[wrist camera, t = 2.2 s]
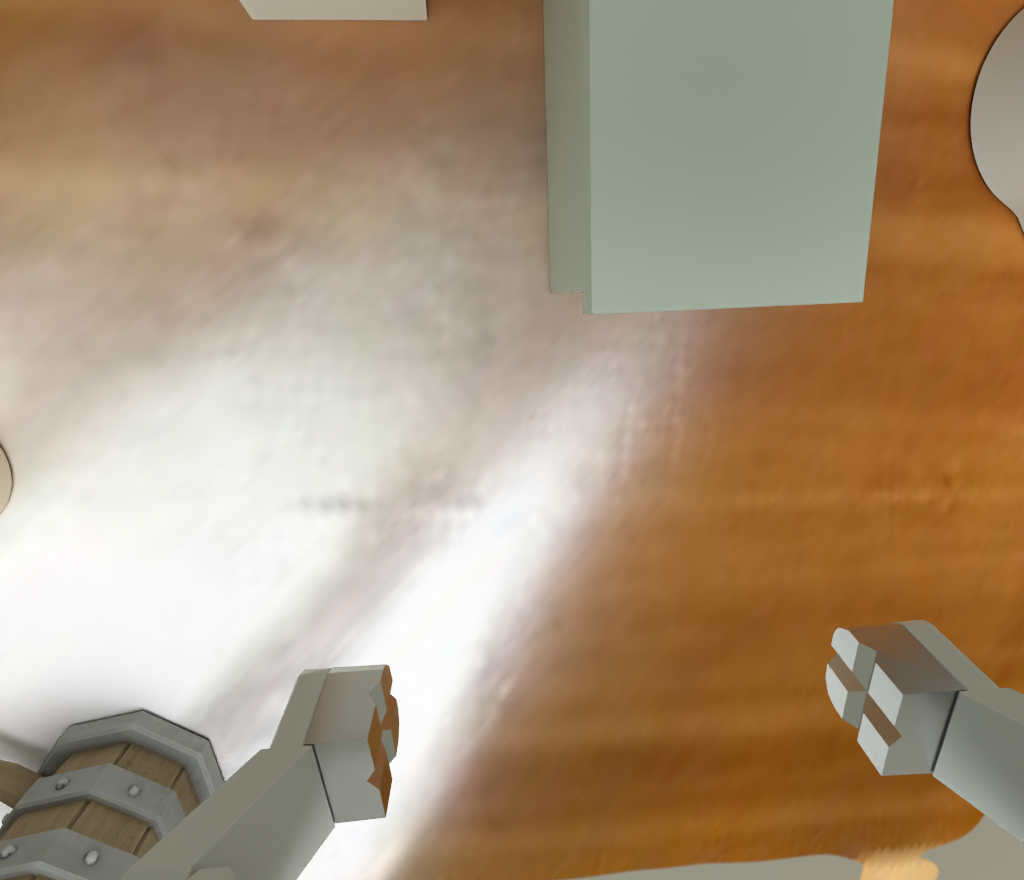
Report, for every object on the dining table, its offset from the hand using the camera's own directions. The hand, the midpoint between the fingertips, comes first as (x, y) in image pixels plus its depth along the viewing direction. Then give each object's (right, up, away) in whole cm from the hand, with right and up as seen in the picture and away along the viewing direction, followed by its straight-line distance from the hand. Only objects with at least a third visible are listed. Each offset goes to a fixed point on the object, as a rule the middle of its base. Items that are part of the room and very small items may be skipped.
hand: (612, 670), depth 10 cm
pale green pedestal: (+5, +23, +26) cm, 35 cm away
